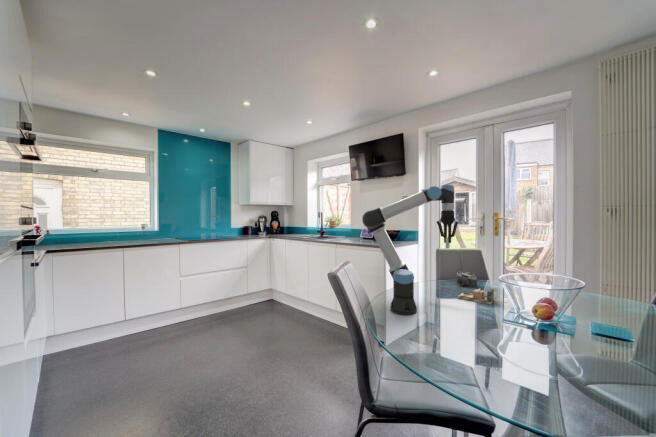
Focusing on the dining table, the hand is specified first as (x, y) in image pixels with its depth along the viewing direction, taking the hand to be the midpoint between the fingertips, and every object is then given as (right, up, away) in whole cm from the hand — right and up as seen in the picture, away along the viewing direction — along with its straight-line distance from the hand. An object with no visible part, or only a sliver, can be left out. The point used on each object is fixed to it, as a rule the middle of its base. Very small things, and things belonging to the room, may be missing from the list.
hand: (447, 248), depth 164 cm
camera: (+28, -32, +34) cm, 54 cm away
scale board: (+18, -32, +2) cm, 37 cm away
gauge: (+20, -31, +1) cm, 37 cm away
